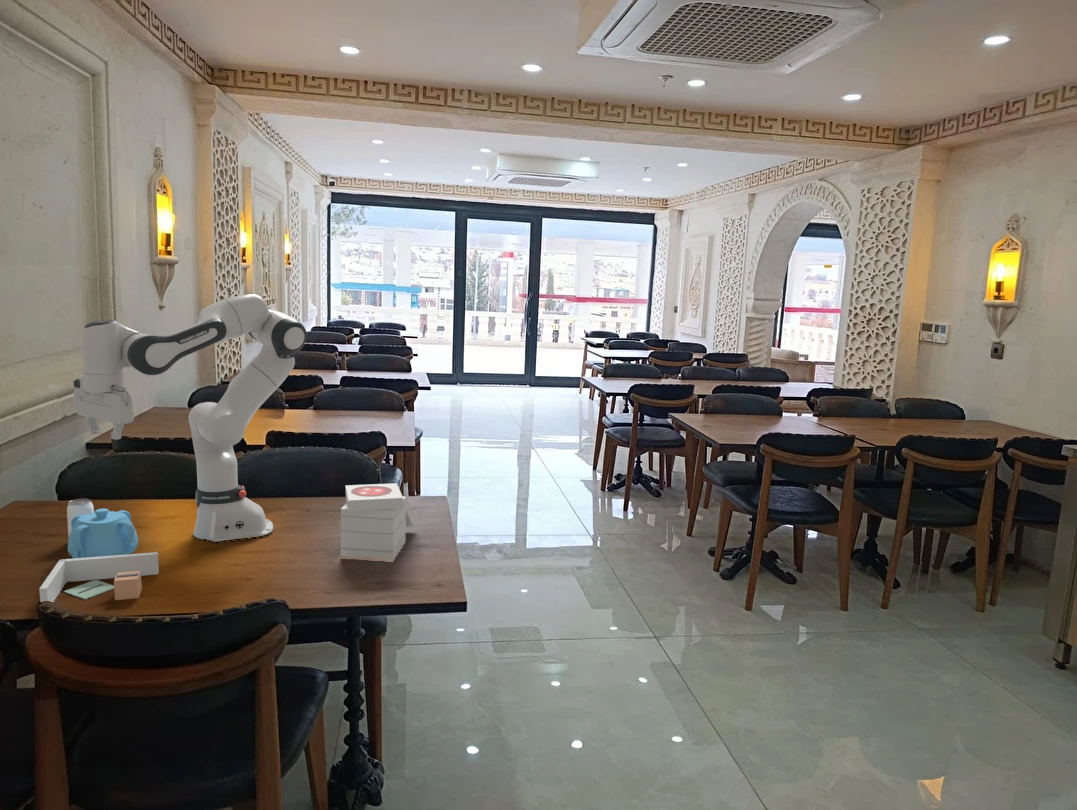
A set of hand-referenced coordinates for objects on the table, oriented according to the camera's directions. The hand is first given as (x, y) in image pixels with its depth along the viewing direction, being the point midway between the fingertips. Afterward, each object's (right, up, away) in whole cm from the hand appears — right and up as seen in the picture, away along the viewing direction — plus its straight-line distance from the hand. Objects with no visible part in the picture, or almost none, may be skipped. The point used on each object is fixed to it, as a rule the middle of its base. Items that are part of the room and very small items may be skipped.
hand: (105, 436), depth 192 cm
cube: (+13, -38, -12) cm, 42 cm away
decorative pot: (-6, -34, +10) cm, 35 cm away
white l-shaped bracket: (+6, -37, -10) cm, 39 cm away
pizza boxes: (+65, -34, +28) cm, 78 cm away
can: (-18, -31, +20) cm, 41 cm away
